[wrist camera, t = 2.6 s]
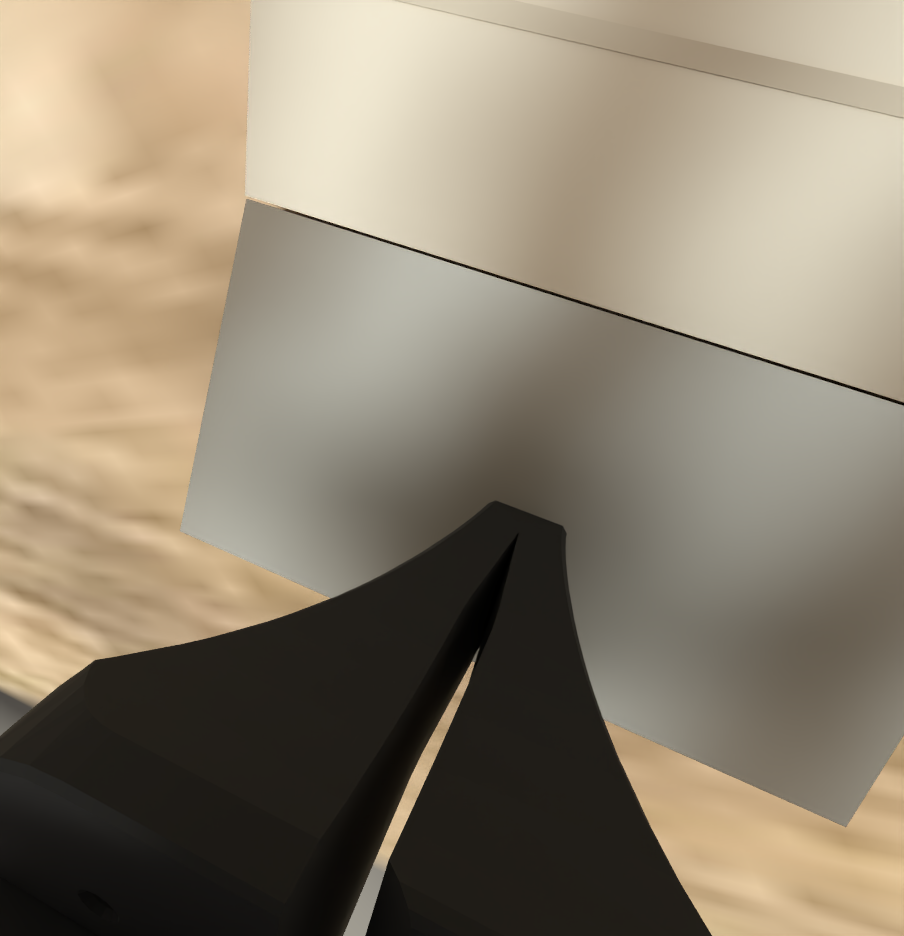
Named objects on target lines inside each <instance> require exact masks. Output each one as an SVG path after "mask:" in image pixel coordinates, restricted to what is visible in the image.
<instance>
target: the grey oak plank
mask: <svg viewBox="0 0 904 936" xmlns="http://www.w3.org/2000/svg"><path fill="white" fill-rule="evenodd" d="M493 501H499V502H501V503H504V504H507V505H509V506H512V507H515V508H517V509H520V510H523V511H525V512H528V513H530V514H533V515H536V516H538V517H541V518H544V519H546V520H549V521H552V522H554V523H557V524H559V525H562V526H563V527H564V529H565V531H566V533H567V536H566V566H567V577H568V585H569V592H570V597H571V603H572V609H573V615H574V620H575V625H576V629H577V634H578V638H579V642H580V646H581V650H582V654H583V658H584V661H585V665H586V668H587V672H588V675H589V679H590V682H591V685H592V688H593V691H594V694H595V697H596V700H597V703H598V706H599V709H600V711H601V714H602V717H603V719H604V720H606V721H608V722H610V723H613V724H615V725H617V726H619V727H622V728H624V729H626V730H628V731H631V732H633V733H635V734H637V735H640V736H642V737H644V738H646V739H649V740H651V741H653V742H655V743H658V744H660V745H662V746H664V747H667V748H669V749H671V750H673V751H676V752H678V753H680V754H682V755H685V756H687V757H689V758H691V759H694V760H696V761H698V762H700V763H703V764H705V765H707V766H709V767H712V768H714V769H716V770H718V771H721V772H723V773H725V774H727V775H730V776H732V777H734V778H736V779H739V780H741V781H743V782H745V783H748V784H750V785H752V786H754V787H757V788H759V789H761V790H763V791H766V792H768V793H770V794H772V795H775V796H777V797H779V798H781V799H784V800H786V801H788V802H790V803H793V804H795V805H797V806H799V807H802V808H804V809H806V810H808V811H811V812H813V813H815V814H817V815H820V816H822V817H824V818H826V819H829V820H831V821H833V822H835V823H838V824H840V825H842V826H844V827H846V826H847V825H848V823H849V822H850V820H851V818H852V817H853V815H854V814H855V812H856V810H857V809H858V807H859V806H860V804H861V802H862V801H863V799H864V798H865V796H866V794H867V793H868V791H869V790H870V788H871V786H872V785H873V783H874V782H875V780H876V778H877V777H878V775H879V774H880V772H881V770H882V769H883V767H884V766H885V764H886V762H887V761H888V759H889V758H890V756H891V755H892V753H893V751H894V750H895V748H896V747H897V745H898V743H899V742H900V740H901V739H902V737H903V735H904V406H903V405H900V404H896V403H893V402H890V401H887V400H884V399H880V398H877V397H874V396H871V395H868V394H865V393H861V392H858V391H855V390H852V389H849V388H846V387H842V386H839V385H836V384H833V383H830V382H827V381H823V380H820V379H817V378H814V377H811V376H807V375H804V374H801V373H798V372H795V371H792V370H788V369H785V368H782V367H779V366H776V365H773V364H769V363H766V362H763V361H760V360H757V359H753V358H750V357H747V356H744V355H741V354H738V353H734V352H731V351H728V350H725V349H722V348H719V347H715V346H712V345H709V344H706V343H703V342H700V341H696V340H693V339H690V338H687V337H684V336H680V335H677V334H674V333H671V332H668V331H665V330H661V329H658V328H655V327H652V326H649V325H646V324H642V323H639V322H636V321H633V320H630V319H627V318H623V317H620V316H617V315H614V314H611V313H607V312H604V311H601V310H598V309H595V308H592V307H588V306H585V305H582V304H579V303H576V302H573V301H569V300H566V299H563V298H560V297H557V296H553V295H550V294H547V293H544V292H541V291H538V290H534V289H531V288H528V287H525V286H522V285H519V284H515V283H512V282H509V281H506V280H503V279H500V278H496V277H493V276H490V275H487V274H484V273H480V272H477V271H474V270H471V269H468V268H465V267H461V266H458V265H455V264H452V263H449V262H446V261H442V260H439V259H436V258H433V257H430V256H427V255H423V254H420V253H417V252H414V251H411V250H407V249H404V248H401V247H398V246H395V245H392V244H388V243H385V242H382V241H379V240H376V239H373V238H369V237H366V236H363V235H360V234H357V233H353V232H350V231H347V230H344V229H341V228H338V227H334V226H331V225H328V224H325V223H322V222H319V221H315V220H312V219H309V218H306V217H303V216H300V215H296V214H293V213H290V212H287V211H284V210H280V209H277V208H274V207H271V206H268V205H265V204H261V203H258V202H255V201H252V200H249V199H246V204H245V209H244V214H243V219H242V224H241V229H240V234H239V239H238V244H237V249H236V254H235V259H234V264H233V269H232V274H231V279H230V284H229V289H228V294H227V299H226V304H225V309H224V314H223V319H222V324H221V329H220V334H219V339H218V344H217V349H216V354H215V359H214V364H213V369H212V374H211V379H210V384H209V389H208V394H207V399H206V404H205V409H204V414H203V419H202V424H201V429H200V434H199V439H198V444H197V449H196V454H195V459H194V464H193V469H192V474H191V479H190V484H189V489H188V494H187V499H186V504H185V509H184V514H183V519H182V524H181V529H180V531H181V532H183V533H185V534H188V535H190V536H192V537H194V538H197V539H199V540H201V541H203V542H206V543H208V544H210V545H212V546H215V547H217V548H219V549H221V550H224V551H226V552H228V553H230V554H233V555H235V556H237V557H239V558H242V559H244V560H246V561H248V562H251V563H253V564H255V565H257V566H260V567H262V568H264V569H266V570H269V571H271V572H273V573H275V574H278V575H280V576H282V577H284V578H287V579H289V580H291V581H293V582H296V583H298V584H300V585H302V586H305V587H307V588H309V589H311V590H314V591H316V592H318V593H320V594H323V595H325V596H327V597H329V598H333V597H336V596H338V595H340V594H342V593H345V592H347V591H349V590H351V589H354V588H356V587H358V586H360V585H362V584H364V583H366V582H369V581H371V580H373V579H374V578H376V577H378V576H380V575H382V574H384V573H386V572H388V571H390V570H391V569H393V568H395V567H397V566H398V565H400V564H402V563H404V562H405V561H407V560H409V559H411V558H413V557H414V556H416V555H418V554H419V553H421V552H423V551H424V550H426V549H427V548H429V547H430V546H432V545H433V544H435V543H436V542H438V541H439V540H441V539H442V538H444V537H445V536H447V535H448V534H450V533H451V532H453V531H454V530H456V529H457V528H458V527H460V526H461V525H462V524H464V523H465V522H466V521H468V520H469V519H470V518H472V517H473V516H474V515H475V514H477V513H478V512H479V511H480V510H481V509H482V508H484V507H485V506H486V505H487V504H488V503H490V502H493ZM478 651H479V649H478ZM478 651H477V652H476V654H475V656H474V658H473V660H472V661H473V662H475V661H476V658H477V654H478Z"/></svg>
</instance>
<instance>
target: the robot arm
mask: <svg viewBox="0 0 904 936" xmlns="http://www.w3.org/2000/svg"><path fill="white" fill-rule="evenodd" d="M566 536H567V533H566V531H565V529H564V527H563V526H562V525H559V524H557V523H554V522H552V521H549V520H546V519H544V518H541V517H538V516H536V515H533V514H530V513H528V512H525V511H523V510H520V509H517V508H515V507H512V506H509V505H507V504H504V503H501V502H499V501H493V502H490V503H488V504H487V505H486V506H485V507H484V508H482V509H481V510H480V511H479V512H478V513H477V514H475V515H474V516H473V517H472V518H470V519H469V520H468V521H466V522H465V523H464V524H462V525H461V526H460V527H458V528H457V529H456V530H454V531H453V532H451V533H450V534H448V535H447V536H445V537H444V538H442V539H441V540H439V541H438V542H436V543H435V544H433V545H432V546H430V547H429V548H427V549H426V550H424V551H423V552H421V553H419V554H418V555H416V556H414V557H413V558H411V559H409V560H407V561H405V562H404V563H402V564H400V565H398V566H397V567H395V568H393V569H391V570H390V571H388V572H386V573H384V574H382V575H380V576H378V577H376V578H374V579H373V580H371V581H369V582H366V583H364V584H362V585H360V586H358V587H356V588H354V589H351V590H349V591H347V592H345V593H342V594H340V595H338V596H336V597H333V598H331V599H328V600H326V601H323V602H321V603H318V604H315V605H313V606H310V607H308V608H305V609H302V610H300V611H297V612H295V613H292V614H289V615H286V616H283V617H280V618H277V619H274V620H271V621H268V622H264V623H261V624H257V625H254V626H250V627H247V628H243V629H240V630H236V631H233V632H229V633H226V634H222V635H219V636H215V637H211V638H207V639H203V640H198V641H194V642H189V643H185V644H180V645H175V646H170V647H164V648H159V649H154V650H149V651H144V652H138V653H133V654H128V655H123V656H117V657H111V658H105V659H99V660H95V661H93V662H92V663H91V664H89V665H88V666H87V667H85V668H84V669H83V670H81V671H80V672H79V673H77V674H76V675H74V676H73V677H72V678H70V679H69V680H67V681H66V682H64V683H63V684H62V685H60V686H59V687H58V688H57V689H55V690H54V691H53V692H52V693H50V694H49V695H48V696H47V697H46V698H44V699H43V700H42V701H41V702H40V703H38V704H37V705H36V706H35V707H34V708H33V709H31V710H30V711H29V712H28V713H27V714H26V715H24V716H23V717H22V718H21V719H20V720H18V721H17V722H16V723H15V724H14V725H13V726H11V727H10V728H9V729H8V730H7V731H6V732H4V733H3V734H2V735H1V736H0V936H343V934H344V932H345V929H346V927H347V925H348V922H349V920H350V918H351V915H352V913H353V910H354V908H355V906H356V903H357V901H358V899H359V896H360V894H361V892H362V889H363V887H364V884H365V882H366V880H367V877H368V875H369V873H370V870H371V868H372V866H373V863H374V861H375V859H376V856H377V854H378V852H379V849H380V847H381V844H382V842H383V840H384V837H385V835H386V833H387V830H388V828H389V826H390V823H391V821H392V819H393V816H394V814H395V812H396V809H397V807H398V805H399V802H400V800H401V798H402V795H403V793H404V791H405V788H406V786H407V784H408V781H409V779H410V777H411V775H412V773H413V771H414V769H415V767H416V765H417V762H418V760H419V758H420V756H421V754H422V752H423V750H424V748H425V747H426V745H427V743H428V741H429V739H430V737H431V736H432V734H433V732H434V730H435V728H436V726H437V725H438V723H439V721H440V719H441V717H442V715H443V713H444V712H445V710H446V708H447V706H448V704H449V702H450V701H451V699H452V697H453V695H454V693H455V691H456V690H457V688H458V686H459V684H460V682H461V680H462V678H463V677H464V675H465V673H466V671H467V669H468V667H469V666H470V664H471V662H472V660H473V658H474V656H475V654H476V652H477V651H478V649H479V651H478V654H477V658H476V661H475V664H474V668H473V671H472V674H471V678H470V681H469V684H468V686H467V689H466V691H465V693H464V696H463V698H462V700H461V702H460V705H459V707H458V709H457V712H456V714H455V716H454V718H453V720H452V723H451V725H450V727H449V729H448V732H447V734H446V736H445V738H444V741H443V743H442V745H441V747H440V750H439V752H438V754H437V756H436V759H435V761H434V763H433V765H432V767H431V770H430V772H429V774H428V776H427V778H426V780H425V783H424V785H423V787H422V789H421V791H420V794H419V796H418V798H417V800H416V802H415V805H414V807H413V809H412V811H411V813H410V815H409V818H408V820H407V822H406V824H405V826H404V829H403V831H402V833H401V835H400V837H399V839H398V841H397V844H396V846H395V848H394V850H393V852H392V854H391V856H390V859H389V861H388V864H387V868H386V871H385V874H384V877H383V881H382V884H381V887H380V890H379V894H378V897H377V900H376V903H375V906H374V910H373V913H372V917H371V920H370V923H369V926H368V929H367V933H366V935H365V936H712V935H711V933H710V932H709V930H708V928H707V927H706V925H705V923H704V922H703V920H702V918H701V917H700V915H699V913H698V912H697V910H696V908H695V907H694V905H693V904H692V902H691V900H690V899H689V897H688V895H687V894H686V892H685V890H684V889H683V887H682V885H681V883H680V882H679V880H678V878H677V876H676V874H675V872H674V870H673V869H672V867H671V865H670V863H669V861H668V859H667V857H666V855H665V853H664V851H663V850H662V848H661V846H660V844H659V842H658V840H657V838H656V836H655V834H654V832H653V831H652V829H651V827H650V825H649V822H648V820H647V818H646V816H645V814H644V812H643V810H642V807H641V805H640V803H639V801H638V799H637V797H636V794H635V792H634V790H633V788H632V786H631V784H630V781H629V779H628V777H627V775H626V773H625V771H624V768H623V766H622V764H621V762H620V760H619V758H618V755H617V753H616V751H615V748H614V745H613V743H612V740H611V738H610V735H609V733H608V730H607V728H606V725H605V722H604V720H603V717H602V714H601V711H600V709H599V706H598V703H597V700H596V697H595V694H594V691H593V688H592V685H591V682H590V679H589V675H588V672H587V668H586V665H585V661H584V658H583V654H582V650H581V646H580V642H579V638H578V634H577V629H576V625H575V620H574V615H573V609H572V603H571V597H570V592H569V585H568V577H567V566H566Z"/></svg>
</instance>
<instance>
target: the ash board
mask: <svg viewBox="0 0 904 936" xmlns="http://www.w3.org/2000/svg"><path fill="white" fill-rule="evenodd" d="M245 196H248V197H252V198H255V199H258V200H261V201H264V202H267V203H271V204H274V205H277V206H280V207H283V208H287V209H290V210H293V211H296V212H299V213H302V214H306V215H309V216H312V217H315V218H318V219H322V220H325V221H328V222H331V223H334V224H338V225H341V226H344V227H347V228H350V229H353V230H357V231H360V232H363V233H366V234H369V235H373V236H376V237H379V238H382V239H385V240H388V241H392V242H395V243H398V244H401V245H404V246H408V247H411V248H414V249H417V250H420V251H424V252H427V253H430V254H433V255H436V256H439V257H443V258H446V259H449V260H452V261H455V262H459V263H462V264H465V265H468V266H471V267H474V268H478V269H481V270H484V271H487V272H490V273H494V274H497V275H500V276H503V277H506V278H510V279H513V280H516V281H519V282H522V283H525V284H529V285H532V286H535V287H538V288H541V289H545V290H548V291H551V292H554V293H557V294H560V295H564V296H567V297H570V298H573V299H576V300H580V301H583V302H586V303H589V304H592V305H596V306H599V307H602V308H605V309H608V310H611V311H615V312H618V313H621V314H624V315H627V316H631V317H634V318H637V319H640V320H643V321H646V322H650V323H653V324H656V325H659V326H662V327H666V328H669V329H672V330H675V331H678V332H682V333H685V334H688V335H691V336H694V337H697V338H701V339H704V340H707V341H710V342H713V343H717V344H720V345H723V346H726V347H729V348H732V349H736V350H739V351H742V352H745V353H748V354H752V355H755V356H758V357H761V358H764V359H768V360H771V361H774V362H777V363H780V364H783V365H787V366H790V367H793V368H796V369H799V370H803V371H806V372H809V373H812V374H815V375H818V376H822V377H825V378H828V379H831V380H834V381H838V382H841V383H844V384H847V385H850V386H854V387H857V388H860V389H863V390H866V391H869V392H873V393H876V394H879V395H882V396H885V397H889V398H892V399H895V400H898V401H901V402H904V0H251V13H250V46H249V79H248V113H247V146H246V179H245Z"/></svg>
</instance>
